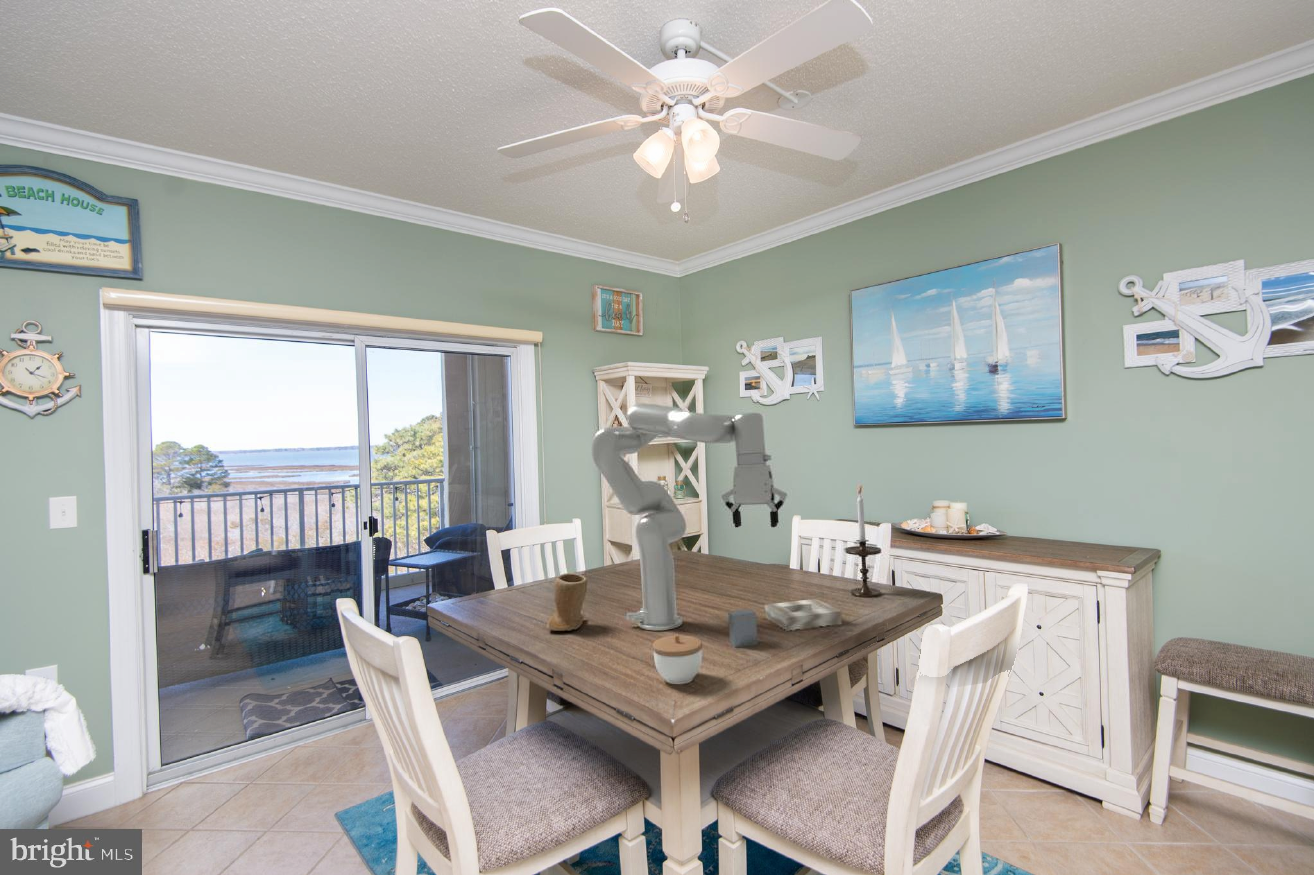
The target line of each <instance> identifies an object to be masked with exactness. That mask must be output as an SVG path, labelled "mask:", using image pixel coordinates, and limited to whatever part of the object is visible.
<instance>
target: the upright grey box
mask: <svg viewBox="0 0 1314 875" xmlns="http://www.w3.org/2000/svg"><path fill="white" fill-rule="evenodd" d="M727 614H728V628H729V629H728V630H729V644H730V643H731V644H730V645H732V647H734V648H740V647H742V648H743V647H749V645H750V646H757V644H758V629H757V612H756V611H754V610H753V609H752V608H747V609H746V608H745V609H739V610H736V609H735V610H730V611H728V612H727Z"/></svg>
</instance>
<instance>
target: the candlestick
mask: <svg viewBox="0 0 1314 875" xmlns="http://www.w3.org/2000/svg"><path fill="white" fill-rule="evenodd" d="M862 486H863V485H862V484H861V485H860V487H859V490H858V497H857V498H856V505H857V506H856V507H857V520H858V521H857V522H858V523H857V524H858V536H859V537H858V539H857V540H855V541H856V542H858V545H856V546H855V545H854V546H847V547H845V549H844V550H845V553H846V554H847V555H848V554H849V555H853V556H858V558H861V559H860V560H861V567H860V568H859V572H860V574H861V577H860V579H861V580H862V585H861V587H856V588H852V589H851V590H850V595H851V596H853V597H857V598H858V597H859V598H866V599H867V598H878V597H880V596H881V594H882V592H881V590H880V589H877V588H873V587H869V585H868V580H869V579H870V578H869V577H868V573H869V572H870V570H869V569H868V568H867V557H869V556H875V555H879V554H881V553H882V549H881V547H878V546H871V545H867V542H870V540H868V539H866V528H865V527H866V525H865V523H866V522H865V511H864V510H865V509H864V508H865V507H864V499H863V498H862V495H861V494H862V488H863V487H862Z"/></svg>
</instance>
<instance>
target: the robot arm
mask: <svg viewBox="0 0 1314 875" xmlns="http://www.w3.org/2000/svg"><path fill="white" fill-rule="evenodd" d="M626 422H627V425H628V426H617V425H616V426H615V425H614V426H607V427H604V428H601V429H599V430H598V431H597V432H596V433H595V435H594V437H593V439H592V442H591V456H592V460H593V462H594V464H595V466H596V468H597V470H598V471H599V473H600V474H601V475H602V476H603V477H604V479H605V480H606V482H607V483H608V485H609V487H610V488H611V490H612V492H613V493H614V495H615V496H616V498H617V499H618V501H619V504H621V506H622V508H623V509H624V510H625V511H626V513H627V514H629V515H631V516H640V515H644V516H642V517H641V518H640V519H639V520H638V522H637V524H636V527H635V539H636V543H637V548H638V551H639V552H638V553H639V561H640V564H639V565H640V577H641V578H640V580H641V595H642V598H641V599H642V607H640V610H637V611H636V612H627V613H626V620H627V621H633V622H637V621H638V622H637V624H638V627H639V628H641V629H643V630H647V631H668V630H672V629H676V628H678V627H680V626H681V625H683V618H682V617H681V616H679V615H678V613H677V599H676V597H677V596H676V595H677V594H676V581H675V580H676V578H675V577H676V576H675V562H674V555H673V552H672V549H671V547H670V544H671V543H675V542H677V541H678V540H680V539H682V538H683V537H684V535H685V533H686V531H687V522H686V519H685V518H684V517H685V516H684V515H683V514H682V512H681V510H680V509H679V507H678V506H677V504H676V502H675V501H674V500H673V498H672V496H671V495H670V494H669V492H668V490H666V488H665V487H664V486H663V485H662V484H660V483H659V482H657V481H654V480H644V481H643V480H642V479H641V478H640V476H638V474H637V473H636V471H635V469H633V467H632V465H631V464H630V463H629V462H628V461H627V460H625V459H624V458H623V457H622V456H621V455H632V454H636V453H639V452H640V451H641V450H643V449H644V448H646V446H648V445H649V444H650V443H651V442H652V441H654V440H655V439H656V438H657V437H658V436H662V437H667V438H672V439H673V438H675V439H679V440H684V441H690V442H697V443H702V444H703V443H704V444H727V443H728V444H729V443H735V444H734V445H735V454H736V466H734V470H733V480H732V485H733V486H732V489H730V490H729V491H727V492H725V493H723V494H722V495H721V499H722V500H723V502H724V504H725V506H726V507H727V508H728V509H729V510H730V512H731V513H732V522H733V525H734V527H735V528H739V527H741V526H742V516H741V510H739V509H740V508H741V507H742V506H743V505H744V506H746V505H747V506H748V505H749V506H750V505H751V506H752V505H766V506H768V508H769V509H771V511H770V512H769V518H770V527H771V528H776V527H778V524H779V510H780V509H781V507H782V506H783V505H784V504H785V501H786V499H787V497H788V493H787V492H785V491H783V490H781V489H779V488H777V487H775V485H774V479H773V478H774V477H773V473H772V469H771V466H770V464H767V463H768V461H771V460H772V455H771V454H767V452H766V445H765V444H766V442H765V441H766V440H765V430H764V418H763V415H762V414H761V413H759V412H743V413H739V414H736V415H727V414H712V413H711V414H709V413H700V412H691V411H686V410H683V409H682V408H681V407H677V406H676V407H675V406H669V405H666V406H665V405H660V404H657V403H644V402H643V403H637V404H634V405H633V406H631V407H630V408H629V409H628V411H627V413H626ZM732 496H733V502H732V501H731V500H730V497H732ZM776 496H779V500H778V501H776V502H775V500H776Z"/></svg>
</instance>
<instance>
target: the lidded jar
mask: <svg viewBox="0 0 1314 875" xmlns="http://www.w3.org/2000/svg"><path fill="white" fill-rule="evenodd" d="M652 643H653V644H652V651H653V659H654V660H653V662H654V665H655V668H656V670H657V672H658V674H659V675H660V676H661V677H662V678H663V679H664V681H665V682H666V683H668V684H671V685H686V684H689V683H690V682H692V681H693V680H694V678H695V677H696V676H697V674H698V673H699V671H700V669H701V665H702V659H703V650H702V648H703V643H702V640H701V639H700V638H697V637H695V636H691V635H685V634H684V635H680V634H674V635H670V636H669V635H668V636H664V637H660V638H659V639H656V640H655V641H654V642H652Z"/></svg>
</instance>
